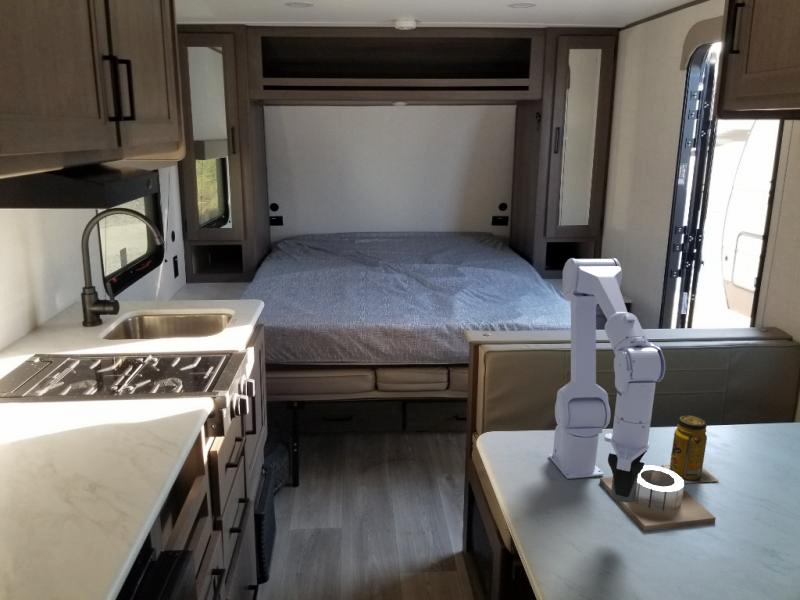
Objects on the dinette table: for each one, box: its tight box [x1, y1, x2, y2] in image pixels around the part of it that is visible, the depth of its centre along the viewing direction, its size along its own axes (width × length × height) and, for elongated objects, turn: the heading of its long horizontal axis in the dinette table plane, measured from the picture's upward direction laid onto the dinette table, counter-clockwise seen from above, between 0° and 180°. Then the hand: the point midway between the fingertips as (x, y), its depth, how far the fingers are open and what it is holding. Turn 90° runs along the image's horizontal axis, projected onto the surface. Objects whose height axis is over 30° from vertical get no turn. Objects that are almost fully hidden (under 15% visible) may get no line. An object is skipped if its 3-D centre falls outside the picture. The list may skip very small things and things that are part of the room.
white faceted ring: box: [635, 465, 685, 511], centre depth 120 cm, size 9×9×4 cm
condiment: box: [661, 415, 720, 484], centre depth 129 cm, size 7×8×12 cm
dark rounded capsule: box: [610, 476, 638, 502], centre depth 109 cm, size 4×4×6 cm
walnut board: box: [599, 476, 717, 532], centre depth 120 cm, size 16×14×1 cm
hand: (623, 488), depth 109 cm, fingers closed on dark rounded capsule, 4 cm apart
